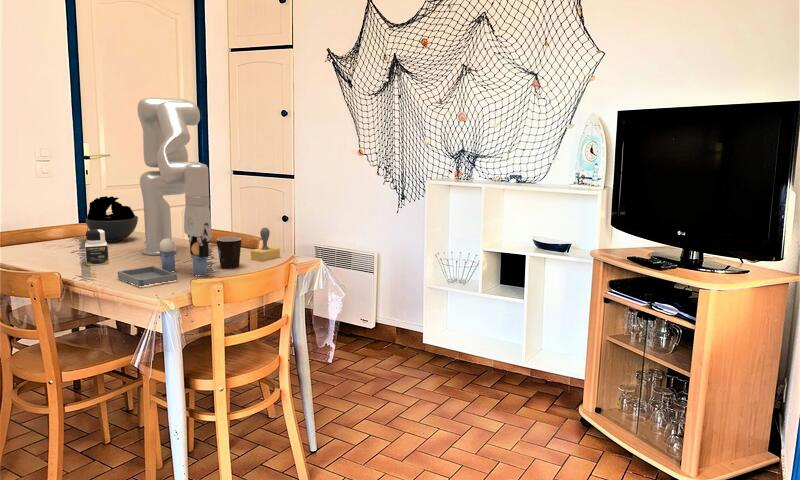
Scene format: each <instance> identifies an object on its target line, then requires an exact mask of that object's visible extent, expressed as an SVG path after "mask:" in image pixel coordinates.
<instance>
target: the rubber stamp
mask: <svg viewBox="0 0 800 480" xmlns="http://www.w3.org/2000/svg"><path fill="white" fill-rule="evenodd" d="M270 233H271V232H270V230H269V227H262V228H261V229H260V238H261V240H262V243H263V246H262V247H261V248H255V249H251V250H250V260H252V261H256V262H258V263H259V262H260V263H261V262H265V261H269V260H274V259H278V258H281V254H280V253H281V250H280V248H279V247H274V246H268V241H269V238H270Z"/></svg>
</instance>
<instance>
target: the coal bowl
mask: <svg viewBox="0 0 800 480" xmlns="http://www.w3.org/2000/svg"><path fill="white" fill-rule="evenodd" d="M119 198H120V197H114V196H112V195H111V196H106V195H105V196H100V197H96V198H94V199H93V200H92V201H91V202H89V208H88V213H87V215H86V216H87V217H86V218H85V223H86V225H87V228H88V231H89V230H95V229H100V230H103V231H104V232H105V241H106V242H119V241H122V240H124V239H126V238H128V237H129V236H130V235H132V233H134V232H135V230H136V227H137V226H138V222H139V216H138V215H135V213H134V211H133V210H132V208H131V206H129V205H128V206H127V205H123V204H122V203H120V202H119V201H117V200H118V199H119ZM109 208H110V209H111V213H108V214H107V210H109Z"/></svg>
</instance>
